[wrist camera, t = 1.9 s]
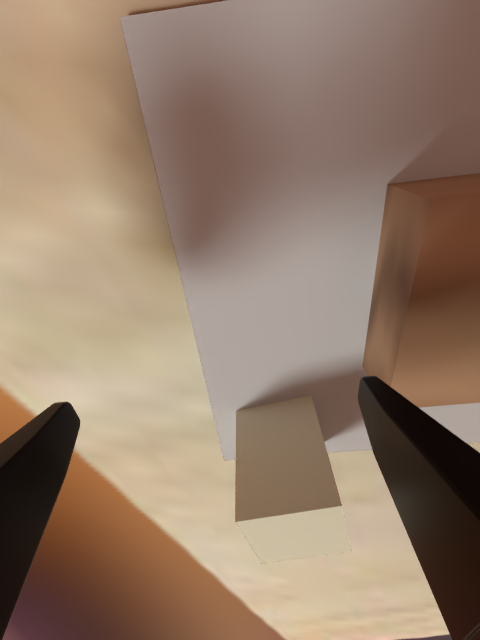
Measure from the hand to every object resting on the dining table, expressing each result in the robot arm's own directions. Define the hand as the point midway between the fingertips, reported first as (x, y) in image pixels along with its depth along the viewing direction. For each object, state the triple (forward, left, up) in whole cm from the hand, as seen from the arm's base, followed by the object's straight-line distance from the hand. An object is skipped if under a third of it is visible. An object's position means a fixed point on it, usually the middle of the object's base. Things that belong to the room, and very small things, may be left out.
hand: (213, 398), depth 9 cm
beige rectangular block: (-9, -2, -6) cm, 11 cm away
